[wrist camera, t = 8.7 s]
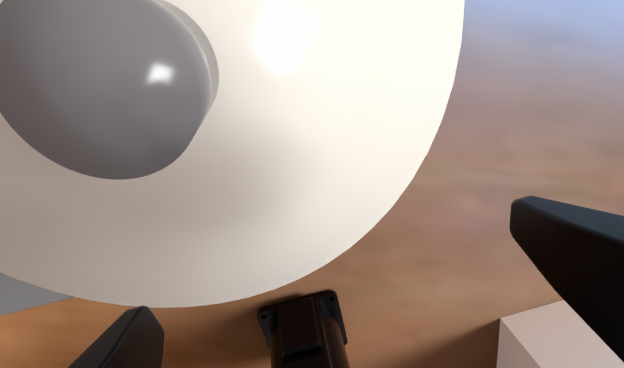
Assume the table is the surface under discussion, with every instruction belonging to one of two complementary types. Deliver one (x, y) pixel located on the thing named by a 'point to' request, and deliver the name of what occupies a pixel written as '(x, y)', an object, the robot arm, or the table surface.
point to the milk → (551, 341)
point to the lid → (209, 138)
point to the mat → (24, 295)
